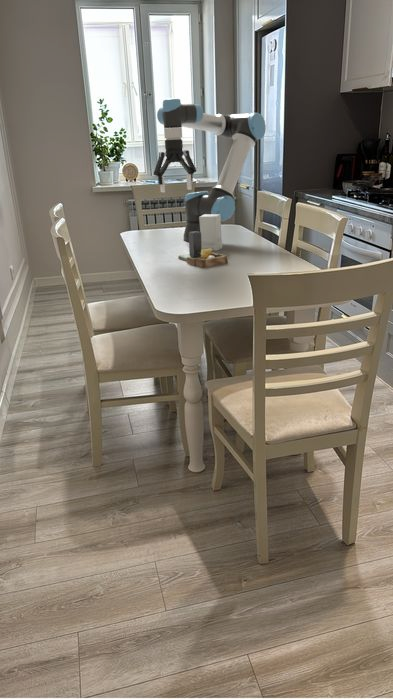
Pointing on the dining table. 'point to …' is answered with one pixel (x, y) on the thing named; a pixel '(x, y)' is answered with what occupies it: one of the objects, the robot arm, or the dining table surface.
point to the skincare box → (211, 231)
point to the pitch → (205, 260)
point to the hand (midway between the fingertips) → (176, 191)
